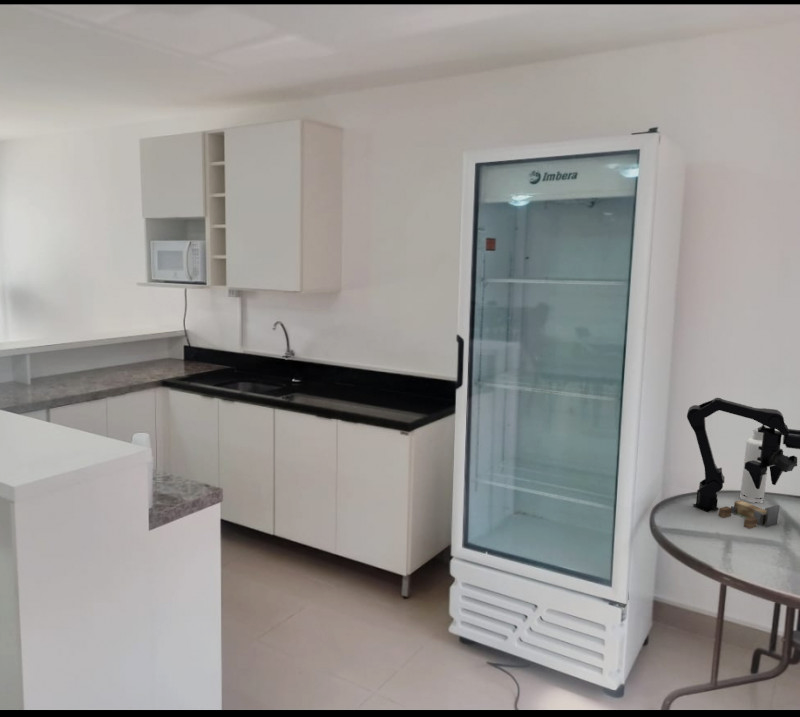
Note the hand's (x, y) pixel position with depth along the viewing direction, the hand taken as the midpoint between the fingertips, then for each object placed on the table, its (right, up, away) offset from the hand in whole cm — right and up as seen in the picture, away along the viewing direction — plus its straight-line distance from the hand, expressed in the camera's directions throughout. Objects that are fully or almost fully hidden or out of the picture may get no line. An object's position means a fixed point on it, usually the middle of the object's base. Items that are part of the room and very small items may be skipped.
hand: (765, 486), depth 231 cm
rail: (-4, -11, +2) cm, 12 cm away
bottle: (+6, -9, +19) cm, 22 cm away
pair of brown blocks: (-11, -12, -1) cm, 16 cm away
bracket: (-4, -12, +3) cm, 13 cm away
